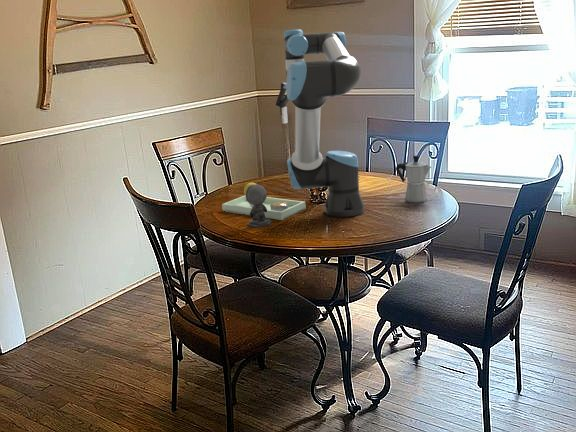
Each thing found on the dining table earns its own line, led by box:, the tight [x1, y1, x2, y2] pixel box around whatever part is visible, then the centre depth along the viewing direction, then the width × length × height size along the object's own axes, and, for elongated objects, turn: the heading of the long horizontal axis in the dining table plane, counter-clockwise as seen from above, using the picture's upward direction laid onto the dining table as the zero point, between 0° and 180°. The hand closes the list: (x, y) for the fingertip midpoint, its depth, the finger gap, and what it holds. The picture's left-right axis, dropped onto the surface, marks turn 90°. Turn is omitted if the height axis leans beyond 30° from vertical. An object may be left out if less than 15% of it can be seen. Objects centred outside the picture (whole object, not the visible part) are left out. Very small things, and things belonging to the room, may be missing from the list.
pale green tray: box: [221, 194, 307, 221], centre depth 234 cm, size 30×16×3 cm, turn 54°
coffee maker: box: [395, 155, 432, 204], centre depth 232 cm, size 15×9×18 cm, turn 57°
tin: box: [270, 202, 288, 211], centre depth 229 cm, size 7×7×3 cm
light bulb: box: [243, 182, 257, 207], centre depth 235 cm, size 7×7×10 cm
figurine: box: [246, 183, 273, 229], centre depth 215 cm, size 9×10×15 cm
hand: (298, 123), depth 238 cm, fingers open, 13 cm apart
